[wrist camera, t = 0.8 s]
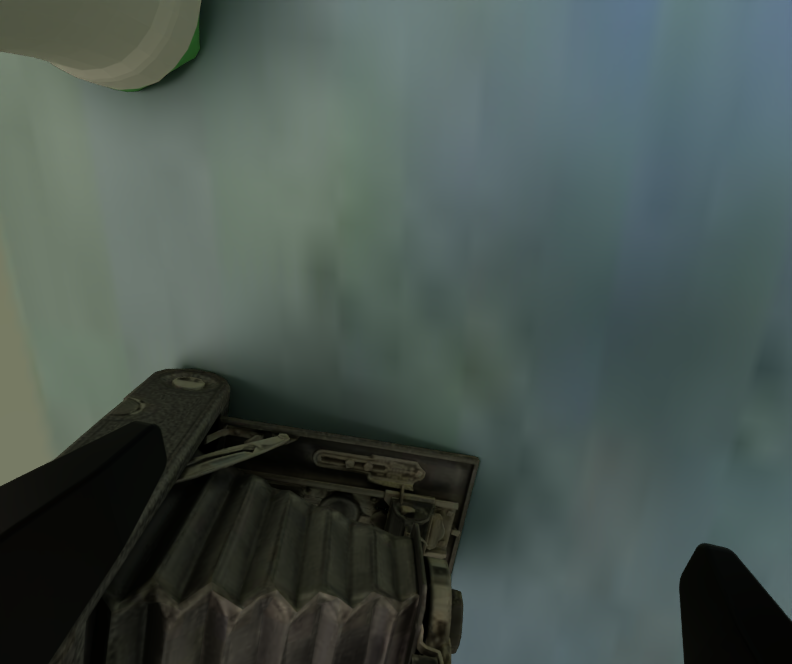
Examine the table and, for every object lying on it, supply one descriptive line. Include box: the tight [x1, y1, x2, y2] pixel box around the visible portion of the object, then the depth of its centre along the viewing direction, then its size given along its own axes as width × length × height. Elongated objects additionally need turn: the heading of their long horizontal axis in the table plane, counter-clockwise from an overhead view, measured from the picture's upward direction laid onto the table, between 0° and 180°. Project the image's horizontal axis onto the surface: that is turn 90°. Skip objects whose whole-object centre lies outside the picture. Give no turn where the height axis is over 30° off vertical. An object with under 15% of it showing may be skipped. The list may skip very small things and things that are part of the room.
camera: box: [49, 368, 480, 664], centre depth 20 cm, size 11×17×20 cm, turn 77°
